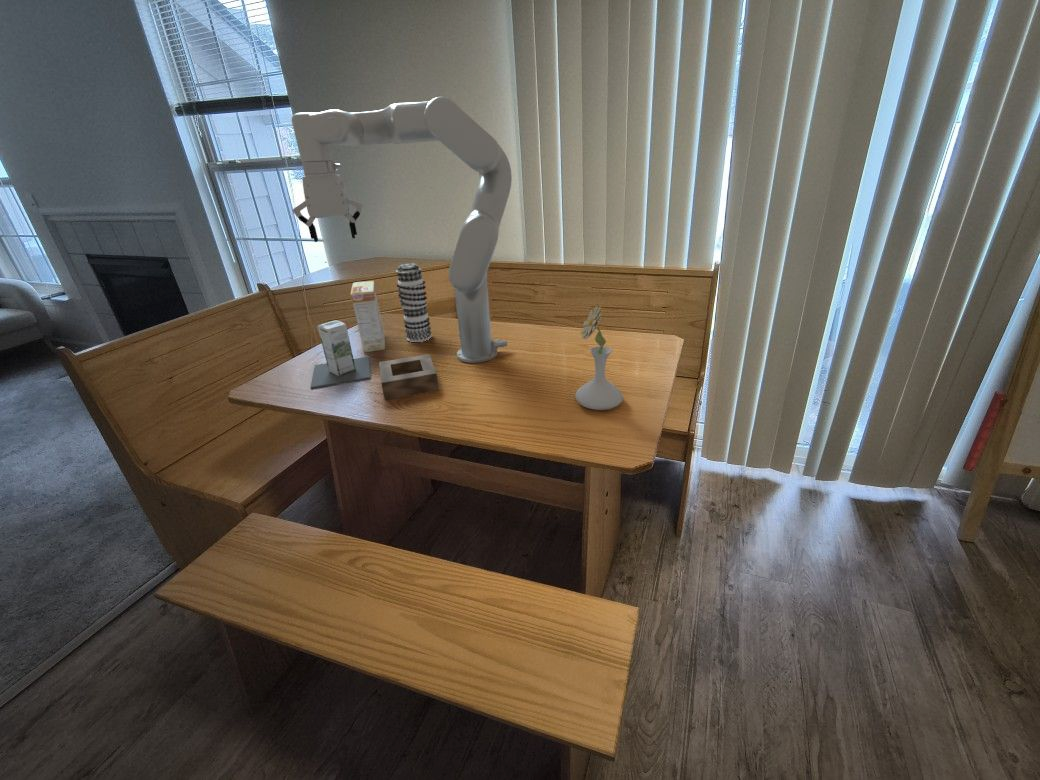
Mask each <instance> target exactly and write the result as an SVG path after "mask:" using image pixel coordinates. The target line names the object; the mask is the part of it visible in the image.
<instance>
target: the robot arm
mask: <svg viewBox="0 0 1040 780" xmlns="http://www.w3.org/2000/svg"><path fill="white" fill-rule="evenodd" d="M291 124H292V129H293V132H294V136H295V141H296V144H297V145H296V146H297V148H298V154H299V156H300V161H301V166H302V170H303V174H304V176H302V177H301V178H302V188H303V195H304V201H303V202H302V203H299V204H298V205H297V206H295V207H294V208H292V213H293V214H294V215H295V216H296V217H297V218H298V221H300V222H301V223H303V224H305V225H306V226H307V227H308V232H309V235H310V238H311V240H314V241H313V242H314V243H317V242H319V237H318V233H317V229H316V226H315V225H314V222H315V219H319V218H320V219H322V218H323V219H324V218H334V217H338V218H339V217H345V218H346V219H347V220H348V221H349V223H348V224H349V229H350V234H351V238H352V239H353V240H354V239H356V235H358V233H357V228H356V223H355V222H356V221H357V219H359V217H360V216H361V212H362V208H363V204H362V203H360V202H358V201H355V200H354V199H351V198H348V197H347V194H346V191H345V186H344V183H343V180H342V178H341V175H340V174H337V171H338V170H341V168H342V167H341V164H340V163H336V162H334V158H333V154H332V148H331V145H332V146H333V145H335V146H347V147H358V146H359V147H360V146H371V145H382V144H383V145H385V144H394V145H400V144H411V143H412V144H413V143H424V142H425V143H426V142H440V143H441V144H442V145H443V146H445V148H447V149H448V150H449V151H451V152H452V154H453V155H455V156H456V157H458V158H459V160H461V161H462V162H463V163H464V164H466V165H467V166H468V167H469V168H470V169H471V170H472V171H474V172H477V173H478V176H479V178H478V179H479V180H478V184H477V188H476V191H475V194H474V199H473V202H472V205H471V208H470V210H469V214H468V216H467V217H466V219H465V220H464V222H463V224H462V227H461V229H460V232H459V236H458V239H457V243H456V246H455V249H454V252H453V255H452V258H451V262H450V265H449V268H448V279H449V282H450V284H451V286H453V288H454V295H455V296H454V297H455V298H454V299H455V306H456V315H457V316H456V317H457V323H458V332H459V333H458V334H459V340H460V343H459V344H460V349H458V351H456V358H457V359H458V360H459V361H461V362H464V363H470V364H478V363H485V362H489V361H491V360H493V359H495V358H496V357H497V355H498V348H504V347H505V348H506V347H508V341H507V340H502V339H501V338H497V339H493V338H492V327H491V317H490V303H489V289H488V288H489V287H488V270H489V267H490V264H491V261H492V259H493V255H494V253H495V249H496V247H497V244H498V241H499V231H500V227H501V223H502V219H503V216H504V213H505V209H506V206H507V203H508V200H509V198H510V197H509V195H510V191H511V187H512V181H513V180H512V177H513V175H512V169H511V168H512V167H511V164H510V161H509V158H508V155H507V154H506V152H505V151H504V149H503V148H502V146H501V145H500V144H499V143H498V141H497V140H496V139H495V138H494V136H492V135H491V134H490V133H489V132H488V131H486V130H485V129H484V128H483V127H482V126H481V125H479V124H478V123H477V122H476V121H475V120H474V119H473V118H472V117H471V116H469V114H467V113H466V112H465V111H464V110H463V109H462V108H461V107H460V106H459V105H458V104H457V103H456V102H455V101H454V100H453V99H451V98H449V97H447V96H436V97H434V98H432V99H431V100H425V101H413V102H398V103H392V104H390V105H388V106H387V107H385V108H383V109H379V110H372V111H371V110H370V111H361V112H359V111H358V112H348V111H344V110H340V109H328V110H324V111H320V112H319V111H318V112H312V111H311V112H309V111H307V112H306V111H305V112H297V113H294V114H293V115H292V116H291ZM349 205H350V206H353V207H355V208H356V209H355V212H354V213H353V214H351V213H349V212H350V208H349ZM305 208H306V211H307V213H308V215H309V217H308V218H307V217H306V216H304V215H303V213H301V211H302V210H303V209H305Z"/></svg>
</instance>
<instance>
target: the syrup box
mask: <svg viewBox="0 0 1040 780" xmlns="http://www.w3.org/2000/svg"><path fill="white" fill-rule="evenodd" d="M317 330H318V334H319V338H320V341H321V346H322V349H323V353H324V357H325V361H326V363H327V366H328V370H329V372H331V373H333V374H335V375H338V376H340V375H343V374H346V373H348V372H351V371H353V370H356V367H355V363H354V359H355V357H354V354H353V349H352V347H351V346H352V345H351V342H350V335H349V331H348V326H347V324H346V323H344V322H342V321H340V320H332V321H328V322H325V323H322V324H318V325H317Z"/></svg>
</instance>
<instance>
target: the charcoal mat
mask: <svg viewBox="0 0 1040 780" xmlns="http://www.w3.org/2000/svg"><path fill="white" fill-rule="evenodd" d="M354 363H355V367H356V370H353V371H351V372H348V373H346V374H343V375H340V376H338V375H335V374H333V373H331V372H329V370H328V366H327V362H326V363H319V364H314V367H313V374H312V378H311V382H310V389H311V390H313V388H314V389H319V387H320V388H325V387H331V386H337V385H342V384H349V383H355V382H360V381H366V380H371V379H372V374H371V360H370V356H364V357H358V358H357V357H356V358H354Z"/></svg>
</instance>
